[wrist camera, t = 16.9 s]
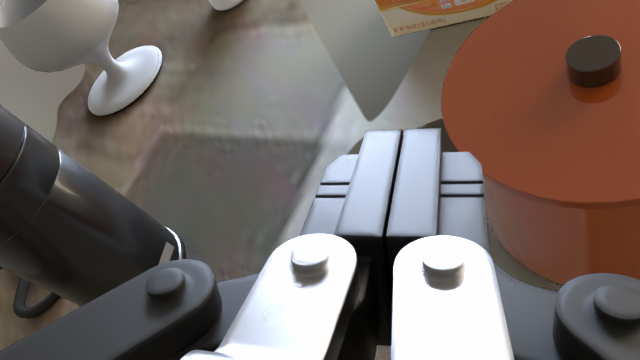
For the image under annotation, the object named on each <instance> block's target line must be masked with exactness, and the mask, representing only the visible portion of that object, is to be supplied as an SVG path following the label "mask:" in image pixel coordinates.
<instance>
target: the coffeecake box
mask: <svg viewBox="0 0 640 360" xmlns="http://www.w3.org/2000/svg"><path fill="white" fill-rule="evenodd" d="M375 1H376V3H377V5H378V8H379V10H380V12H381V14H382V16H383V18H384V21H385V23H386V25H387V27H388V30H389V32H390V34H391V37H396V36H401V35H406V34H410V33H414V32H419V31H423V30H428V29H432V28H437V27H441V26H445V25H450V24H454V23H459V22H463V21H468V20H472V19H476V18H481V17H486V16H490V15H492V14H494V13H495V12H496V11H498V10H499V9H501V8H502V7H504V6H505V5H507V4H508V3H510V2H511V1H513V0H375Z"/></svg>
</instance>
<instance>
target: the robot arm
mask: <svg viewBox="0 0 640 360" xmlns="http://www.w3.org/2000/svg"><path fill="white" fill-rule="evenodd" d="M320 184H321V185H320V186H319V187H318V190H317V193H316V198H314V200H313V203H312V205H311V208H310V210H309V213H308V215H307V218H306V220H305V223H304V225H303V228H302V230H301V233H300V236H299V237H297V238H294V239H291V240H289V241H287V242H285V243H284V244H282V245H281V246H279V247H278V248H277V249H276V250H275V251H274V252H273V253H272V254H271V255H270V257H269V258H268V260H267V262H266V264H265V265H264V267H263V269H262V271H261V273H258V274H255V275H251V276H247V277H242V278H237V279H232V280H227V281H222V282H217V283H216V280H215V277H214V274H213V272H212V270H211V268H210V267H209V266H208V265H206V264H205V263H203V262H200V261H197V260H191V259H186V253H185V247H184V244H183V242H182V240H181V238H180V237H179V236H178V235H177V234H176V233H174V232H173V231H172V230H170V229H169V228H167V227H164V226H163V225H162V224H160V223H159V222H158V221H156V220H155V219H154V218H152V217H151V216H150V215H148V214H147V213H146V212H145V211H143V210H142V209H140V208H139V207H138V206H136V205H135V204H134V203H132V202H131V201H130V200H128V199H127V198H126V197H124V196H123V195H122V194H120V193H119V192H117V191H116V190H115V189H113V188H112V187H111V186H109V185H108V184H107V183H105V182H104V181H103V180H101V179H100V178H98V177H97V176H96V175H94V174H93V173H92V172H90V171H89V170H88V169H86V168H85V167H84V166H82V165H81V164H80V163H78V162H77V161H75V160H74V159H73V158H71V157H70V156H69V155H67V154H66V153H65V152H63V151H62V150H61V149H59V148H58V147H56V146H55V145H53V144H52V143H51V142H49V141H48V140H47V139H45V138H44V137H42V136H41V135H40V134H38V133H37V132H36V131H34V130H33V129H32V128H30V127H29V126H28V125H26V124H25V123H24V122H22V121H21V120H20V119H19V118H17V117H16V116H14V115H13V114H12V113H10V112H9V111H8V110H6V109H5V108H4V107H2V106H1V105H0V270H1V269H5V270H7V271H9V272H11V273H13V274H16V275H18V276H20V280H19V284H18V287H17V290H16V294H15V298H14V304H13V307H14V312H15V314H16V315H17V316H18V317H20V318H27V319H28V318H32V317H35V316H37V315H39V314H41V313H43V312H44V311H46V310H47V309H48V308H50V307H51V306H52V305H53V304H54V303H55V302H56V301H57V300H58V299H59V298H60V296H61V297H63V298H65V299H67V300H69V301H71V302H73V303H75V304H77V305H79V306H81V307H79V308H78V309H76V310H74V311H72V312H70V313H68V314H67V315H65V316H63V317H61V318H59V319H57V320H56V321H54V322H52V323H50V324H48V325H47V326H45V327H43V328H41V329H39V330H37V331H36V332H34V333H32V334H30V335H28V336H26V337H25V338H23V339H21V340H19V341H17V342H15V343H14V344H12V345H10V346H8V347H6V348H4V349H3V350H1V351H0V360H375V354H376V347H377V345H386V346H391V360H640V280H639V279H635V278H632V277H629V276H624V275H619V274H610V273H594V274H587V275H583V276H579V277H576V278H574V279H572V280H570V281H569V282H567V283H566V284H564V285H563V287H562V288H561V289H560V290H559V292H555V291H551V290H547V289H543V288H539V287H536V286H532V285H529V284H526V283H524V282H521V281H519V280H517V279H515V278H513V277H511V276H510V275H508V274H507V273H506V272H504V271H503V270H502V269H501V268H500V267H499V266H498V265H497V264H496V263H495V262H494V260H493V259H492V256H491V254H490V251H489V243H488V231H487V220H486V208H485V198H484V185H483V174H482V165H481V164H480V163H479V162H478V160H477V159H476V158H475V157H474V156H473V155H472V154H471V153H470V152H443V151H442V128H428V129H405V130H404V135H403V130H375V131H366V132H365V135H364V139H363V142H362V145H361V148H360V152H359V154H356V155H340V156H339V157H338V158H337V159H336V160H335V161H334V162H332V163H331V164H330V165H329V166H328V167H327V168H326V170H325V172H324V175H323V177H322V180H321V182H320ZM29 282H32V283H34V284H36V285H38V286H40V287H42V288H44V289H46V290H48V291H50V292H51V293H50V294H49V295H48V296H47V297H46V298H45V299H44V300H42V301H41V302H40V303H38V304H37V305H35V306H33V307H30V308H25V297H26V293H27V289H28V286H29Z"/></svg>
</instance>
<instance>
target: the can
mask: <svg viewBox="0 0 640 360" xmlns="http://www.w3.org/2000/svg"><path fill="white" fill-rule="evenodd" d="M208 1H209V3H210V4H211V5H212V6H213V8H214V9H216V10H220V11H226V10H230V9H232V8H234V7H236V6H238V5H239V4H241V3H242V2H243V1H244V0H208Z"/></svg>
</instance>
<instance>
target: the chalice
mask: <svg viewBox="0 0 640 360" xmlns="http://www.w3.org/2000/svg"><path fill="white" fill-rule="evenodd" d="M118 10H119V6H118V0H5V2H4V3H3V5H2V6H1V7H0V39H1V40H2V42H3V43H4V45H5V46H6V47H7V49H8V50H9V51H10V52H11V53H12V55H13V56H14V57H15V58H16V59H17V60H18V61H19V62H20V63H22V64H23V65H25V66H26V67H28V68H30V69H32V70H35V71H41V72H54V71H62V70H65V69H68V68H71V67H74V66H77V65H80V64H85V63H92V64H97V65H99V66H100V67H102V68H103V69H104V71H103V72H102V73H101V75H100V76H99V77H98V78H97V80H96V81H95V83H94V85H93V86H92V89H91V91H90V93H89V98H88V108H89V110H90V112H92V113H93V114H95V115H108V114H111V113H114V112H116V111H118V110H120V109H122V108H124V107H125V106H127V105H128V104H130V103H131V102H133V101H134V100H135V99H136V98H137V97H138V96H140V95H141V94H142V93H143V92H144V91H145V90H146V88H147V87H148V86H149V85H150V84H151V82H152V81H153V80H154V78H155V76H156V74H157V73H158V71H159V68H160V65H161V62H162V54H161V51H160V50H159V49H158V48H157V47H154V46H141V47H137V48H135V49H132V50H130V51H128V52H126V53H125V54H123V55H122V56H120V57H119V58H117V59H116V60H114V59H113V58H112V56H111V55H110V53H109V49H108V42H109V38H110V35H111V33H112V31H113V28H114V26H115V23H116V20H117V16H118Z"/></svg>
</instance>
